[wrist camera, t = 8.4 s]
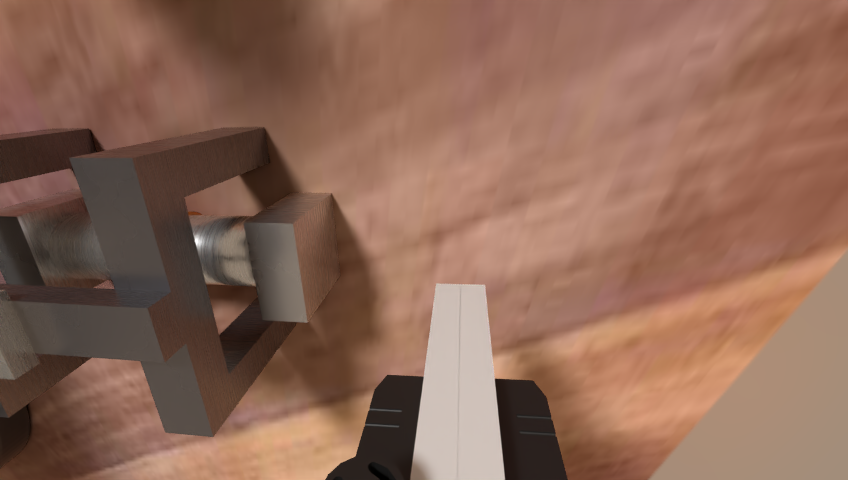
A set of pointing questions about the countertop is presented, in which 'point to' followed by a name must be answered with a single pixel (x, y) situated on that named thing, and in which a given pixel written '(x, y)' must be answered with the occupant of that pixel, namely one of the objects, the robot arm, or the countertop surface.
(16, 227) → the tube
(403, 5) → the countertop surface
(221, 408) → the collar rail
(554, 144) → the countertop surface
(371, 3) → the countertop surface
